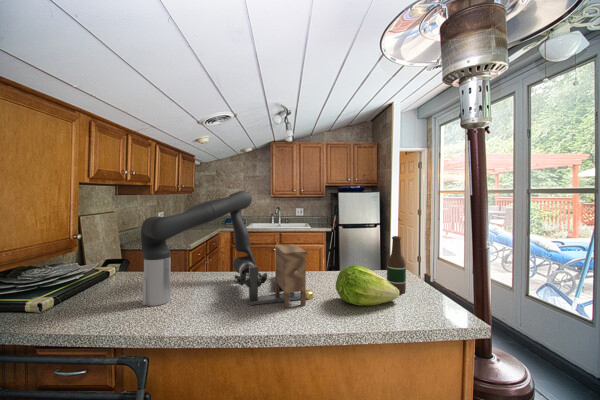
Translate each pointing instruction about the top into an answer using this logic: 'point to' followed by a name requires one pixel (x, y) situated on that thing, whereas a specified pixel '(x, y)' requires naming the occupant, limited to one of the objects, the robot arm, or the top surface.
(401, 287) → the beer bottle
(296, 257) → the walnut cabinet
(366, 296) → the lettuce
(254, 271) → the grey l-shaped bracket
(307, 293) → the brass puck
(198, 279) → the top surface
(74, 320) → the top surface
